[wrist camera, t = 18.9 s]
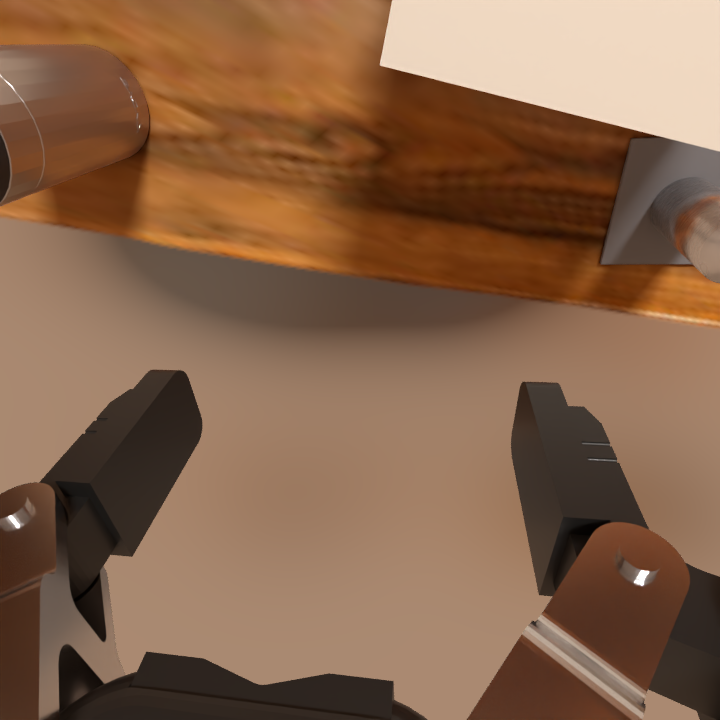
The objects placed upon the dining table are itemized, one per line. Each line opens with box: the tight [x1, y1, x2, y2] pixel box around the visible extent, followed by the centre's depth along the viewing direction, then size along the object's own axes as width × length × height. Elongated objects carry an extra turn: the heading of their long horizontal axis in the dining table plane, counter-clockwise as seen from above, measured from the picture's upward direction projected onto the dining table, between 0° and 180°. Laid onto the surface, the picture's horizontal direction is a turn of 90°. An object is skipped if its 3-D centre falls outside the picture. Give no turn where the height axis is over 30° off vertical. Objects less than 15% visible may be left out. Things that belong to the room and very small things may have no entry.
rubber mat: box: [600, 137, 720, 264], centre depth 40 cm, size 11×11×1 cm
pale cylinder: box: [650, 177, 720, 283], centre depth 36 cm, size 5×5×10 cm
